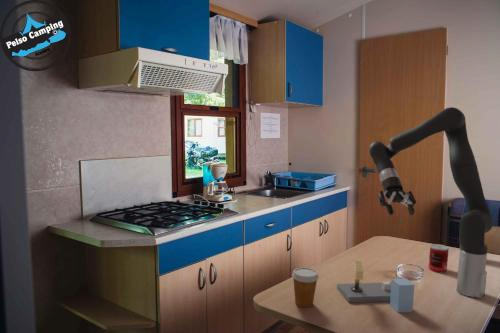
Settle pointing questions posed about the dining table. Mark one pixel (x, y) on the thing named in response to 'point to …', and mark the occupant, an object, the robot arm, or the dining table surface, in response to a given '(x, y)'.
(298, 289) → the disposable coffee cup
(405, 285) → the light blue block
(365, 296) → the plate
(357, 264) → the golden lever handle
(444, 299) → the dining table surface
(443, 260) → the canned food
